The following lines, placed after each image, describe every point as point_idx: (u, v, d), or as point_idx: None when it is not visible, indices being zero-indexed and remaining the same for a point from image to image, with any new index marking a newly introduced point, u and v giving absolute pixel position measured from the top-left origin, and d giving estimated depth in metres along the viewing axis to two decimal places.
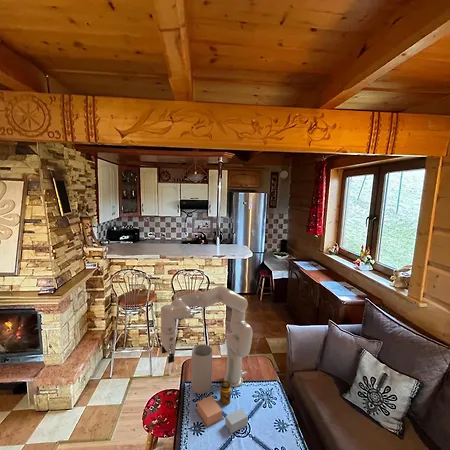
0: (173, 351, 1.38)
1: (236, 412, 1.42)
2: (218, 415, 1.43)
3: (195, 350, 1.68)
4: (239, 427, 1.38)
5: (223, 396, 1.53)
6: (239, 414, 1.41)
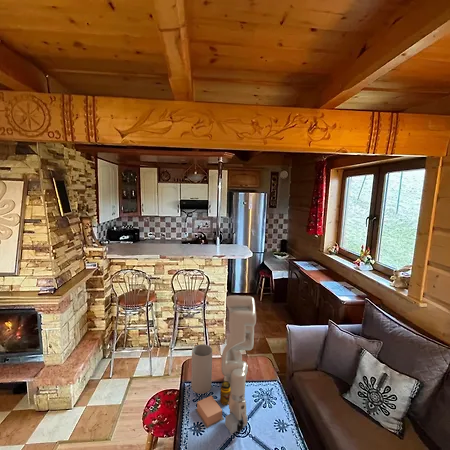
0: (245, 422, 1.33)
1: None
2: (218, 415, 1.43)
3: (195, 350, 1.68)
4: None
5: (223, 396, 1.53)
6: None
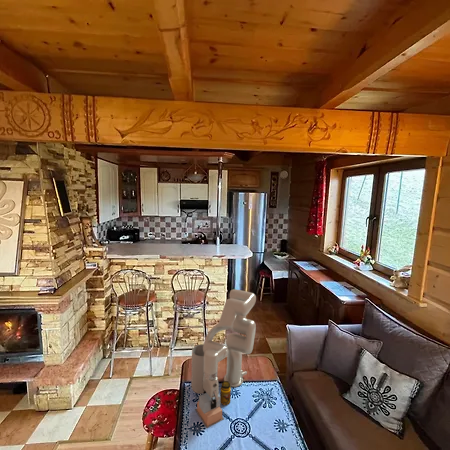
0: (217, 399, 1.38)
1: None
2: (218, 415, 1.43)
3: (195, 350, 1.68)
4: None
5: (223, 396, 1.53)
6: None
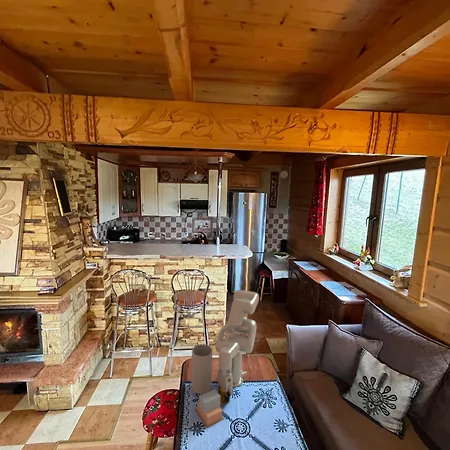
0: (231, 394, 1.49)
1: (210, 392, 1.48)
2: (218, 415, 1.43)
3: (195, 350, 1.68)
4: (212, 406, 1.43)
5: (222, 395, 1.53)
6: (212, 394, 1.46)
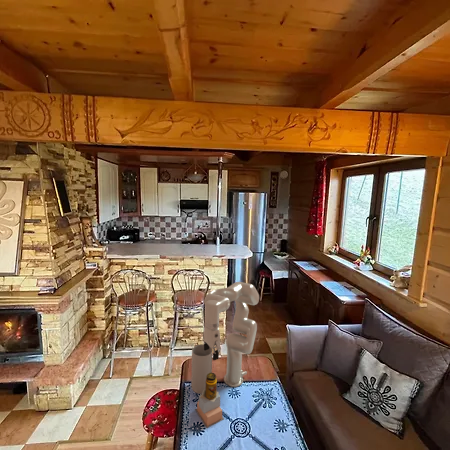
0: (219, 348, 1.34)
1: None
2: (218, 415, 1.43)
3: (195, 350, 1.68)
4: (212, 406, 1.43)
5: (208, 388, 1.42)
6: None
